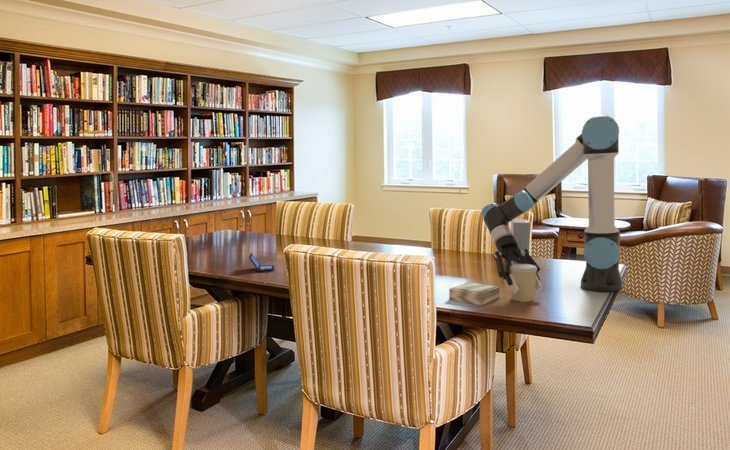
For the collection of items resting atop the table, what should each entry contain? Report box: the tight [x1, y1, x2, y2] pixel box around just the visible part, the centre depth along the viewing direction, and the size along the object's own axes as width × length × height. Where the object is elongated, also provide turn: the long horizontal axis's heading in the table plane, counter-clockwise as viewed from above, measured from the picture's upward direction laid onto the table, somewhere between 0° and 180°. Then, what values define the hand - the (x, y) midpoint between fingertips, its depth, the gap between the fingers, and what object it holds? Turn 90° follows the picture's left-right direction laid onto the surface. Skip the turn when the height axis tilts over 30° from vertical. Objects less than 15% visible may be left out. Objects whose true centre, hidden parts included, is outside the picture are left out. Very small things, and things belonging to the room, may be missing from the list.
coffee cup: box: [510, 264, 537, 303], centre depth 212 cm, size 9×9×12 cm
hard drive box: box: [510, 218, 531, 265], centre depth 279 cm, size 16×8×20 cm, turn 170°
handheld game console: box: [248, 253, 275, 273], centre depth 273 cm, size 12×11×7 cm
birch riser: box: [448, 281, 500, 306], centre depth 215 cm, size 13×13×4 cm
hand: (528, 290), depth 210 cm, fingers closed on coffee cup, 9 cm apart
